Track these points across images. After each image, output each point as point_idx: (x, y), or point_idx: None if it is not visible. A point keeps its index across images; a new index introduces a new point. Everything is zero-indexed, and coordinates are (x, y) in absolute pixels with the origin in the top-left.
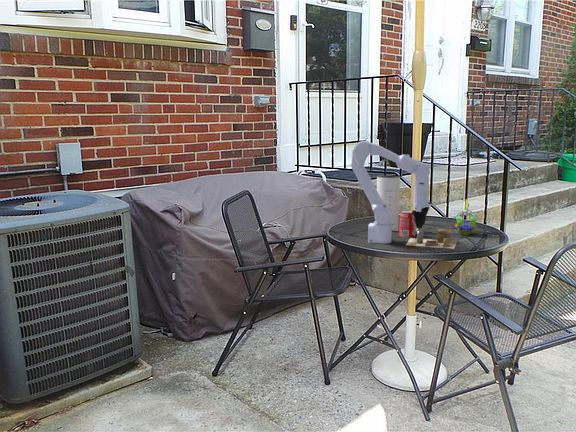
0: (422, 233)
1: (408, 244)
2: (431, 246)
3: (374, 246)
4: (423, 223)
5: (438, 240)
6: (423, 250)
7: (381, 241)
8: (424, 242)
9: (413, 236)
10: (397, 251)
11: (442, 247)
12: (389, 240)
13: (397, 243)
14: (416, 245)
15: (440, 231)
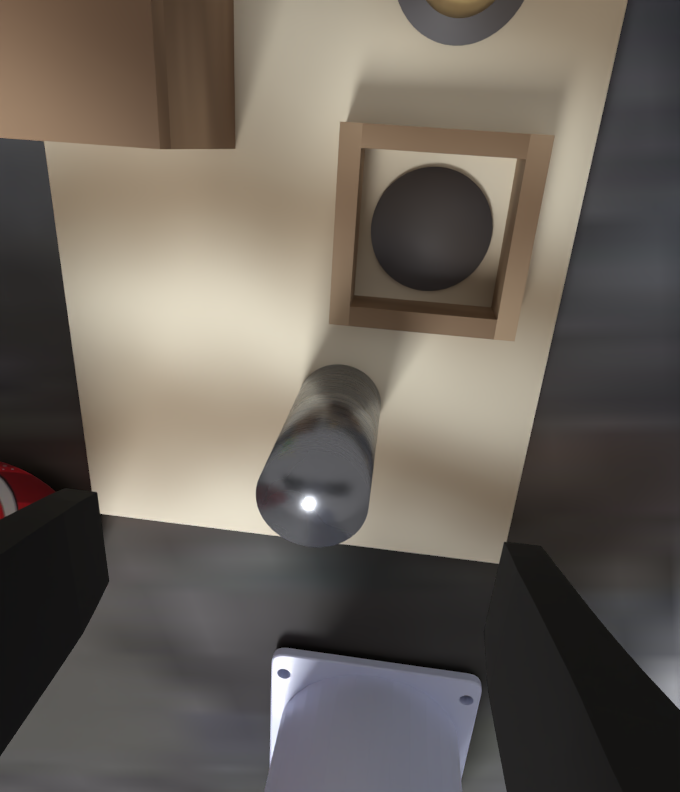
0: (349, 442)
1: (462, 532)
2: (544, 232)
3: (472, 778)
4: (82, 520)
5: (226, 125)
6: (604, 334)
7: (461, 785)
8: (296, 343)
9: (21, 484)
10: (675, 610)
11: (603, 30)
12: (418, 729)
13: (291, 609)
14: (506, 442)
15: (137, 73)
